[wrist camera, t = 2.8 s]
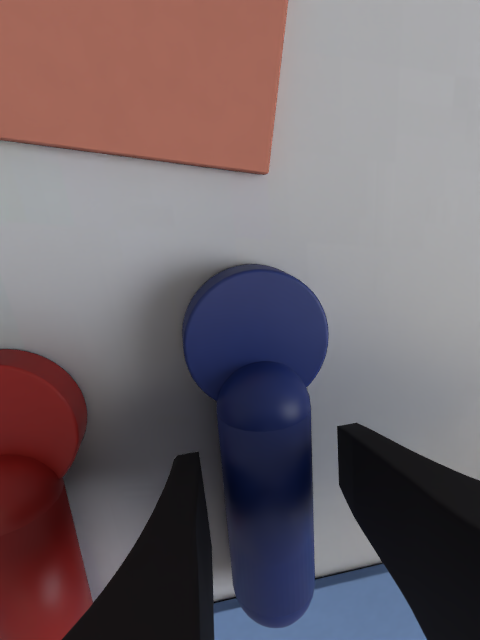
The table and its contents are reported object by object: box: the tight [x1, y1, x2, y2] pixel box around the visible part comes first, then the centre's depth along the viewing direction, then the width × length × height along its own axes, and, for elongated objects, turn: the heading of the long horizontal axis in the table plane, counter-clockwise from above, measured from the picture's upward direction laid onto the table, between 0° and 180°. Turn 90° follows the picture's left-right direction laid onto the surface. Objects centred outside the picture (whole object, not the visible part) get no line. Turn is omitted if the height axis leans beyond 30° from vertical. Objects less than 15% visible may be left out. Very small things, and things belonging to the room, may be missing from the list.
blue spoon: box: [182, 264, 329, 628], centre depth 11 cm, size 11×4×3 cm, turn 4°
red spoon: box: [0, 349, 93, 640], centre depth 11 cm, size 11×4×3 cm, turn 5°
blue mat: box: [213, 564, 427, 640], centre depth 16 cm, size 15×6×1 cm, turn 95°
